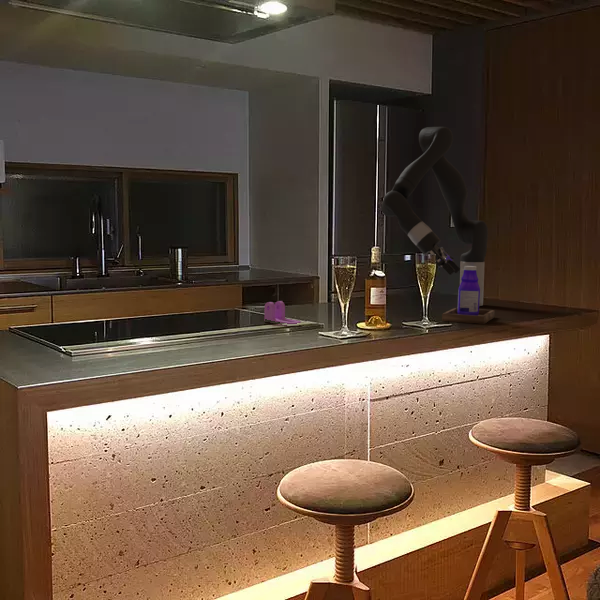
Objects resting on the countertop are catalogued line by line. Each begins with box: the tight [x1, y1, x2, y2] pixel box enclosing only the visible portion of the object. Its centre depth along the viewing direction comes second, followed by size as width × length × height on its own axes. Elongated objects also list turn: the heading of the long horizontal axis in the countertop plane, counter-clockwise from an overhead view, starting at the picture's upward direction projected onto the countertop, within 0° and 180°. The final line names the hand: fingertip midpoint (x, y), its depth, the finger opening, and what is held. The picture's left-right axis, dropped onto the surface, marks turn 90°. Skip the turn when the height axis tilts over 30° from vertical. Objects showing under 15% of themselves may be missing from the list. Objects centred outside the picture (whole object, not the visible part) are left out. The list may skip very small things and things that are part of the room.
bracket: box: [264, 300, 302, 324], centre depth 251 cm, size 13×6×7 cm, turn 43°
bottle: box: [457, 266, 480, 316], centre depth 266 cm, size 7×6×17 cm
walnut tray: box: [441, 307, 495, 325], centre depth 267 cm, size 18×14×2 cm
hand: (455, 272), depth 267 cm, fingers open, 8 cm apart
